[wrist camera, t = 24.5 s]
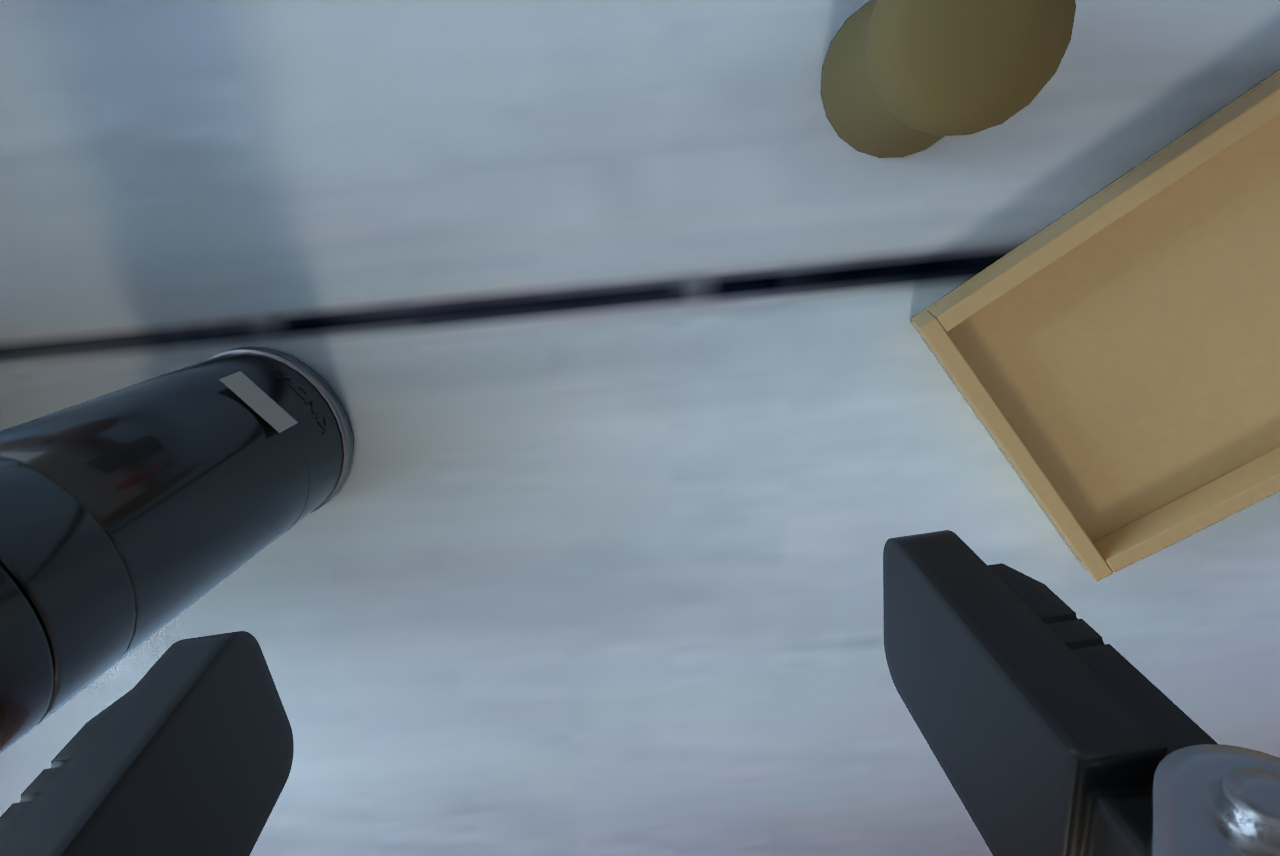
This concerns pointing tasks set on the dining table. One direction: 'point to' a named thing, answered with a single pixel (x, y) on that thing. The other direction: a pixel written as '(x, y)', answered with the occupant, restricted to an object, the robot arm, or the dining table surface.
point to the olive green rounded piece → (938, 68)
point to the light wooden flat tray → (1138, 344)
